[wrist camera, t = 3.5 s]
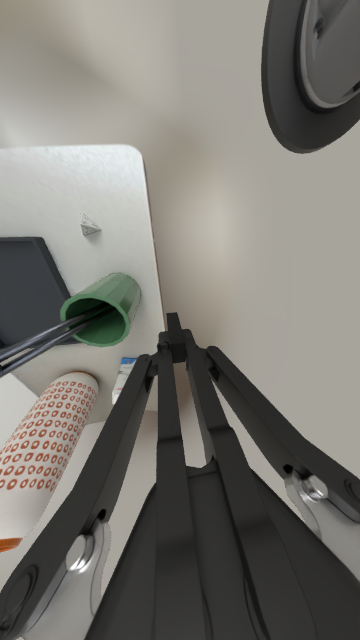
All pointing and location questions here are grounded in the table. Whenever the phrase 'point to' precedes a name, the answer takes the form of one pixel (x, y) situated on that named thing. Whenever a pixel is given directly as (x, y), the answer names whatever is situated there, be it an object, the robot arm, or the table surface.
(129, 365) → the ink box
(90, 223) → the tetrahedral die
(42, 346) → the tongs
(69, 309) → the cup
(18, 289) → the tray
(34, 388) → the table surface
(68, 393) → the vase
